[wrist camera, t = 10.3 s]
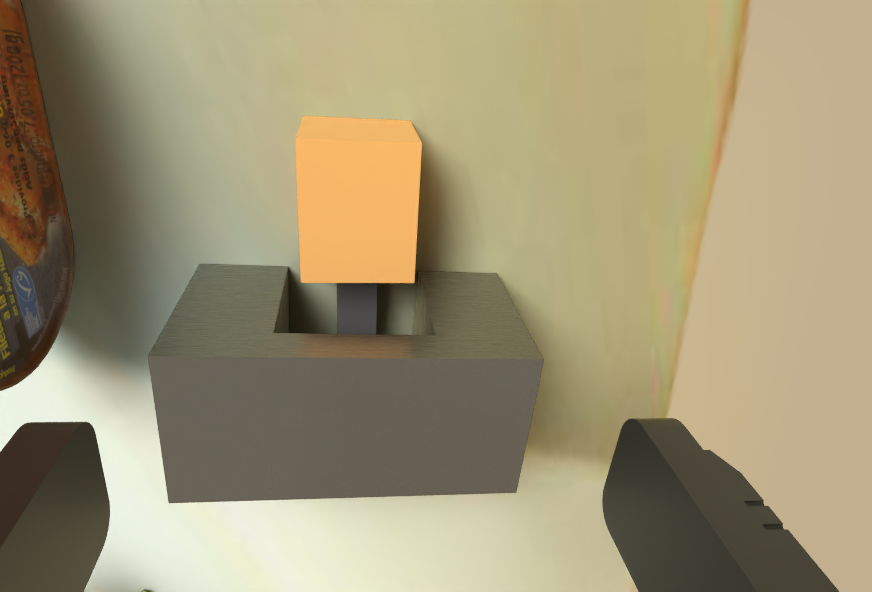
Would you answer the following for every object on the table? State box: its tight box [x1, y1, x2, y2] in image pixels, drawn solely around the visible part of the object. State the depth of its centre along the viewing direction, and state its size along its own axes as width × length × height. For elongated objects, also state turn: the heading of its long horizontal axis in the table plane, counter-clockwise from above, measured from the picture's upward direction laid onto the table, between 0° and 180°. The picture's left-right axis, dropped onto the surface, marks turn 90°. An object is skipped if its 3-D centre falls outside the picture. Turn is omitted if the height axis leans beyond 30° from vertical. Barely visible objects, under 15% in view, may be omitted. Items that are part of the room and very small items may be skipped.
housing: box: [148, 264, 544, 503], centre depth 23 cm, size 12×6×7 cm, turn 84°
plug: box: [295, 116, 422, 335], centre depth 24 cm, size 4×16×4 cm, turn 176°
